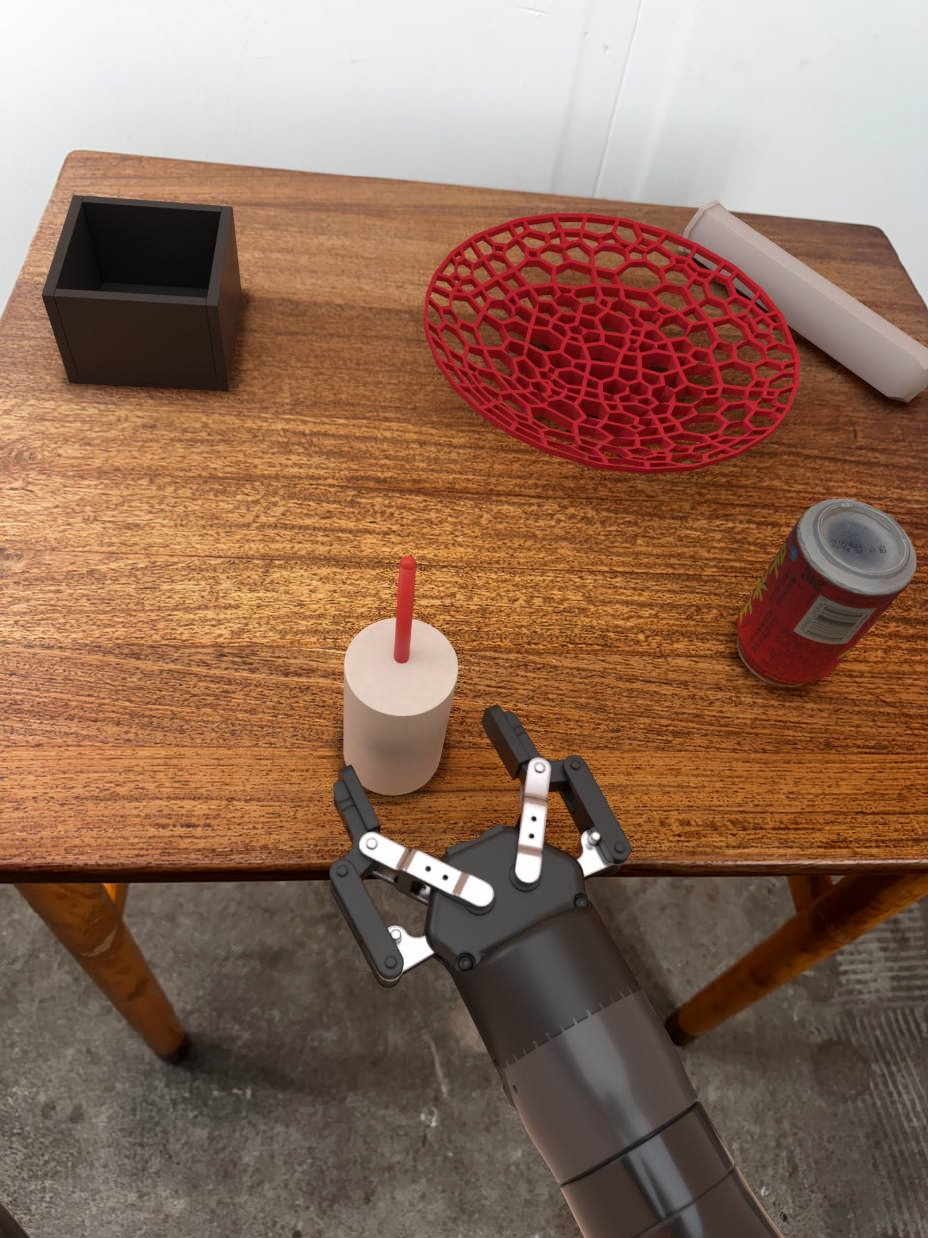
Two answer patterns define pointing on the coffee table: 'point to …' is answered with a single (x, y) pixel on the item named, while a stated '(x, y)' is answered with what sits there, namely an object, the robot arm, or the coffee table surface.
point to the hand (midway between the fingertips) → (418, 741)
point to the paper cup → (397, 697)
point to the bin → (145, 293)
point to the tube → (814, 305)
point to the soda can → (823, 591)
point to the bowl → (608, 349)
